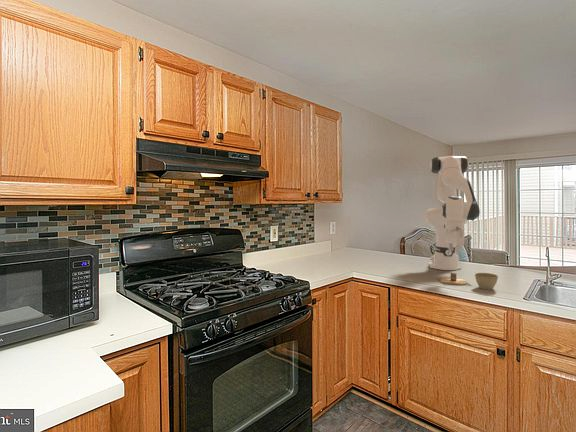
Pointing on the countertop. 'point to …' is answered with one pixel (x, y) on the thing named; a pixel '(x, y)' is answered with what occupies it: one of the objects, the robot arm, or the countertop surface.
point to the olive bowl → (486, 280)
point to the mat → (456, 285)
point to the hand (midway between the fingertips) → (454, 252)
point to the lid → (453, 280)
